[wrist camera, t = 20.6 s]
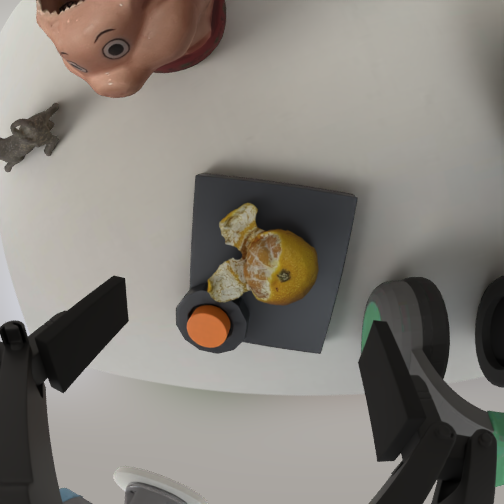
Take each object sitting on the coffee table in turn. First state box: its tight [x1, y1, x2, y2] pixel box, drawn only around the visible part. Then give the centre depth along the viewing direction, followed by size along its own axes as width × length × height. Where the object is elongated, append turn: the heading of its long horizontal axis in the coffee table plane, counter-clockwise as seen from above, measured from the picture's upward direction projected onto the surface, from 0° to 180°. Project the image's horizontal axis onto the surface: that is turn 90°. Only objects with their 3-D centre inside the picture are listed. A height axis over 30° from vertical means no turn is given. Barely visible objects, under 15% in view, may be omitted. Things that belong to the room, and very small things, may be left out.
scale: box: [176, 173, 357, 354], centre depth 26 cm, size 16×14×4 cm
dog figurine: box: [0, 103, 59, 172], centre depth 23 cm, size 12×6×7 cm, turn 98°
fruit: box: [207, 203, 319, 306], centre depth 23 cm, size 8×8×4 cm
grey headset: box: [361, 276, 504, 487], centre depth 17 cm, size 19×11×20 cm, turn 92°
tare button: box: [187, 305, 230, 348], centre depth 26 cm, size 4×4×2 cm
